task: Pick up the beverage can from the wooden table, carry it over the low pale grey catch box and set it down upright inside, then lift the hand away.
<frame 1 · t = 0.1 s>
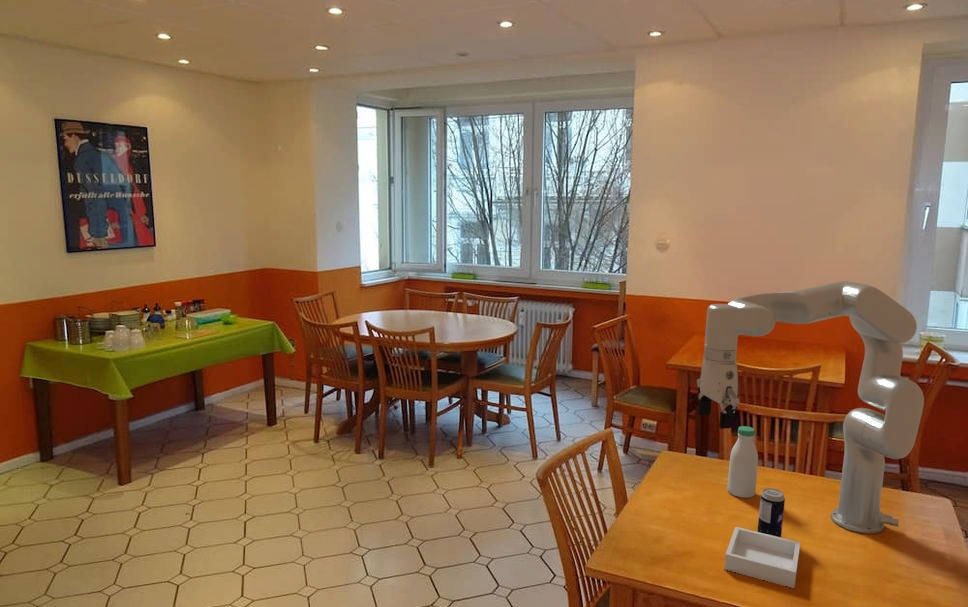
hand: (714, 421, 166), 31 cm above the table, tool pointing down, fingers open, 9 cm apart
milk bottle: (740, 493, 197), on the table
beverage can: (768, 536, 172), on the table
catch box: (762, 563, 159), on the table
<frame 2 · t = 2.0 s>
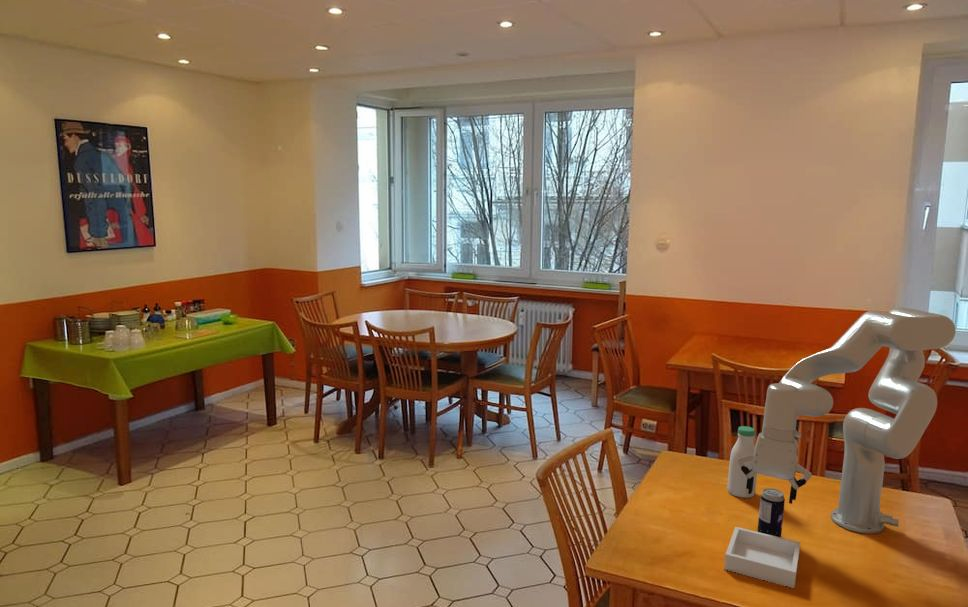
hand: (770, 496, 170), 11 cm above the table, tool pointing down, fingers open, 9 cm apart
nothing on the table moved.
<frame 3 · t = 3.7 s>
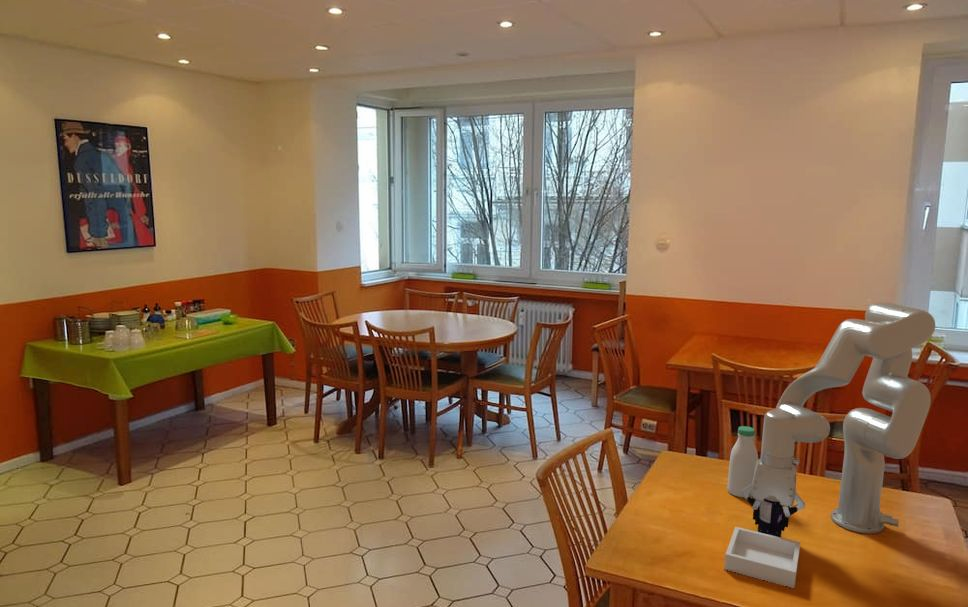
hand: (770, 525, 172), 3 cm above the table, tool pointing down, fingers closed on beverage can, 5 cm apart
beverage can: (768, 536, 172), on the table, touching gripper
everything else where it was.
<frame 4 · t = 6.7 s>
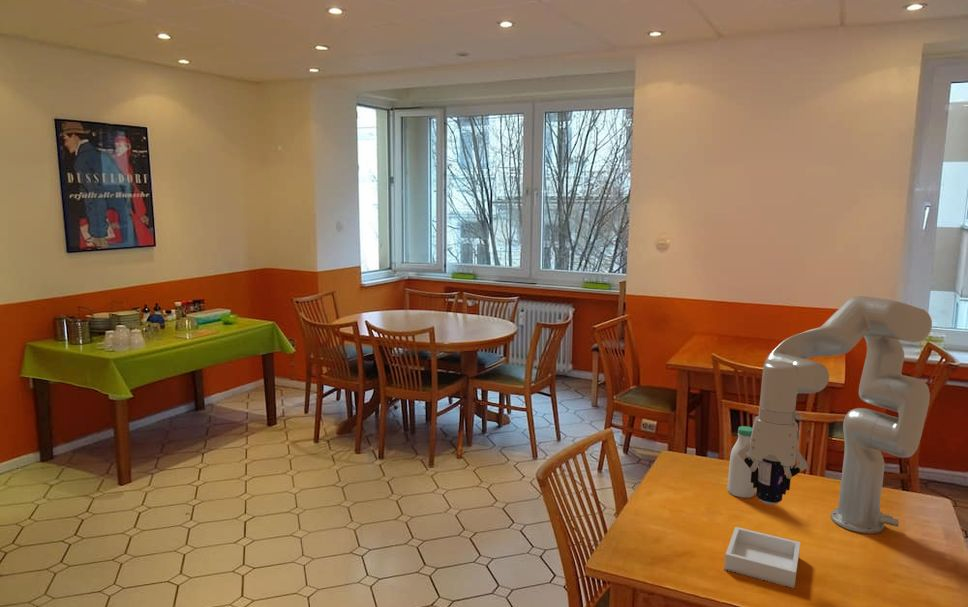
hand: (769, 488, 156), 19 cm above the table, tool pointing down, fingers closed on beverage can, 5 cm apart
beverage can: (768, 501, 156), point 16 cm above the table, touching gripper
everything else where it was.
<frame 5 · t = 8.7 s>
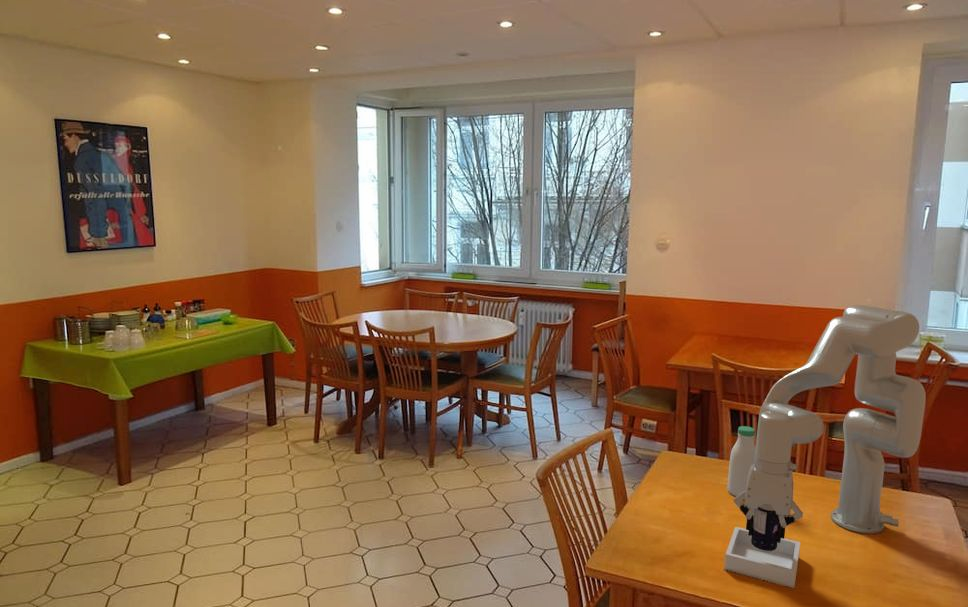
hand: (764, 536, 158), 7 cm above the table, tool pointing down, fingers closed on beverage can, 5 cm apart
beverage can: (763, 548, 158), point 4 cm above the table, touching gripper
everything else where it was.
when the fingers open (5 cm above the table, at t = 10.1 s): beverage can drops 1 cm, resting on catch box.
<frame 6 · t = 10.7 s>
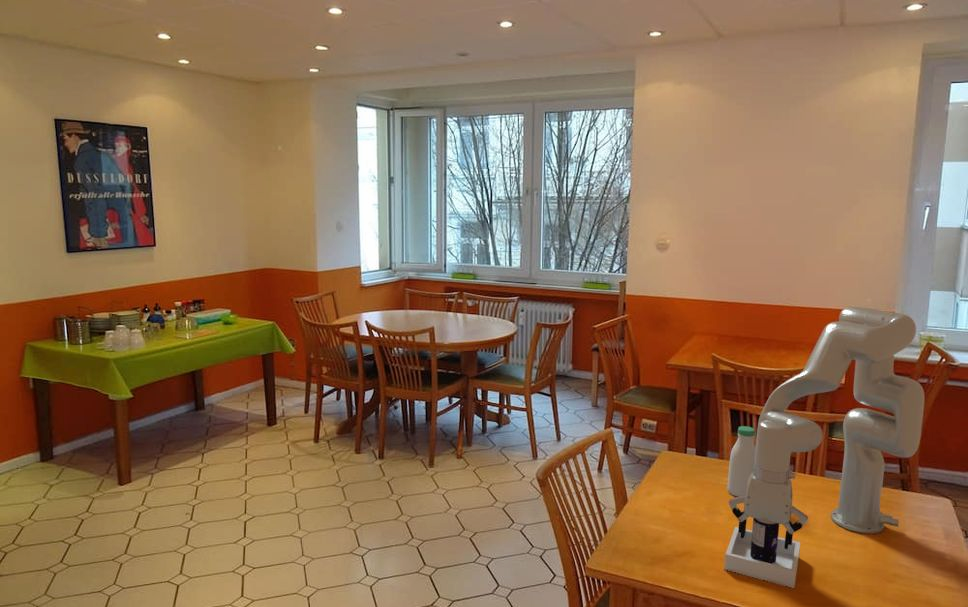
hand: (764, 541, 158), 6 cm above the table, tool pointing down, fingers open, 9 cm apart
beverage can: (762, 561, 159), resting on catch box
everything else where it was.
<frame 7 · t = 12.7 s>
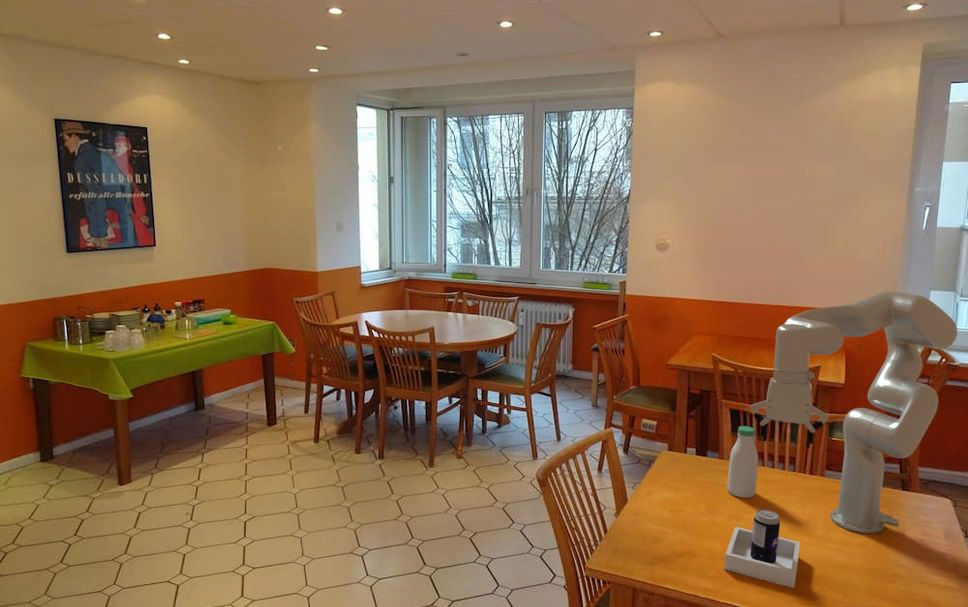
hand: (786, 442, 163), 27 cm above the table, tool pointing down, fingers open, 9 cm apart
nothing on the table moved.
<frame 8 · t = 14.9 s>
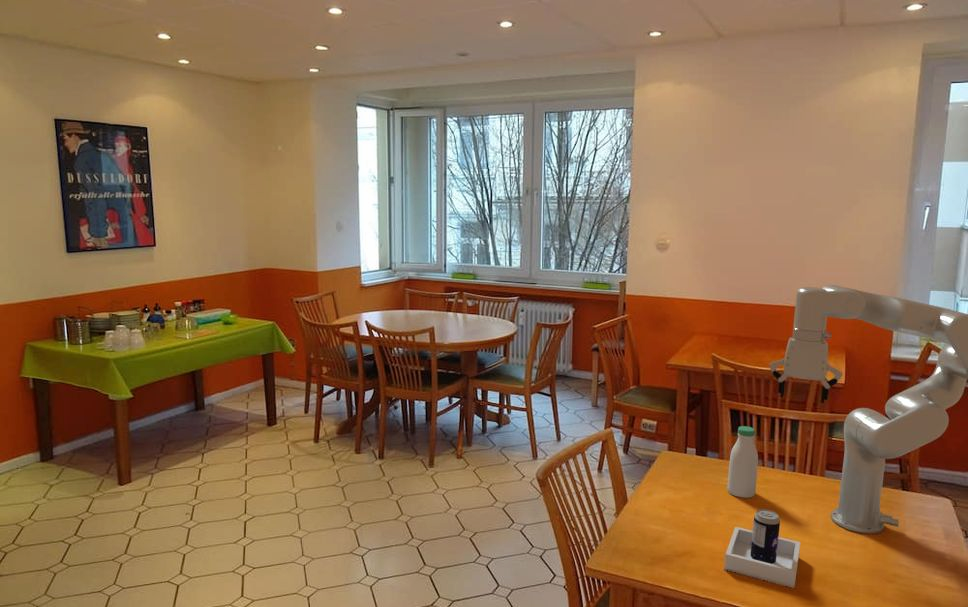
hand: (802, 398, 175), 34 cm above the table, tool pointing down, fingers open, 9 cm apart
nothing on the table moved.
at the end: beverage can inside the target area (0.1 cm from its centre), resting on catch box; beverage can tilted 0°; the gripper is holding nothing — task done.
